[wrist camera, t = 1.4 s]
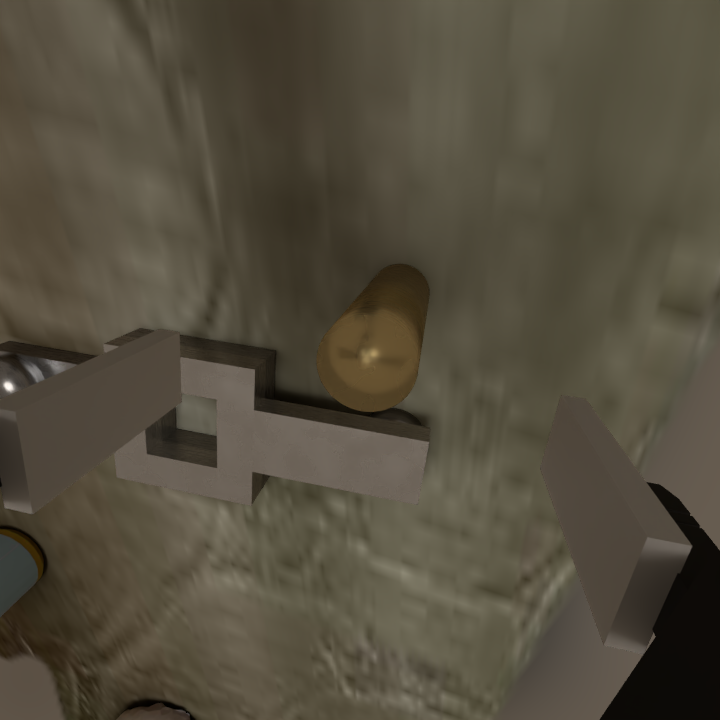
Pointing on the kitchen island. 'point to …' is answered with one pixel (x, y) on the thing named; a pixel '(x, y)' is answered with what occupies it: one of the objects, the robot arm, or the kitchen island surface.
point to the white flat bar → (248, 429)
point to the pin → (377, 342)
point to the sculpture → (154, 713)
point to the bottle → (17, 566)
